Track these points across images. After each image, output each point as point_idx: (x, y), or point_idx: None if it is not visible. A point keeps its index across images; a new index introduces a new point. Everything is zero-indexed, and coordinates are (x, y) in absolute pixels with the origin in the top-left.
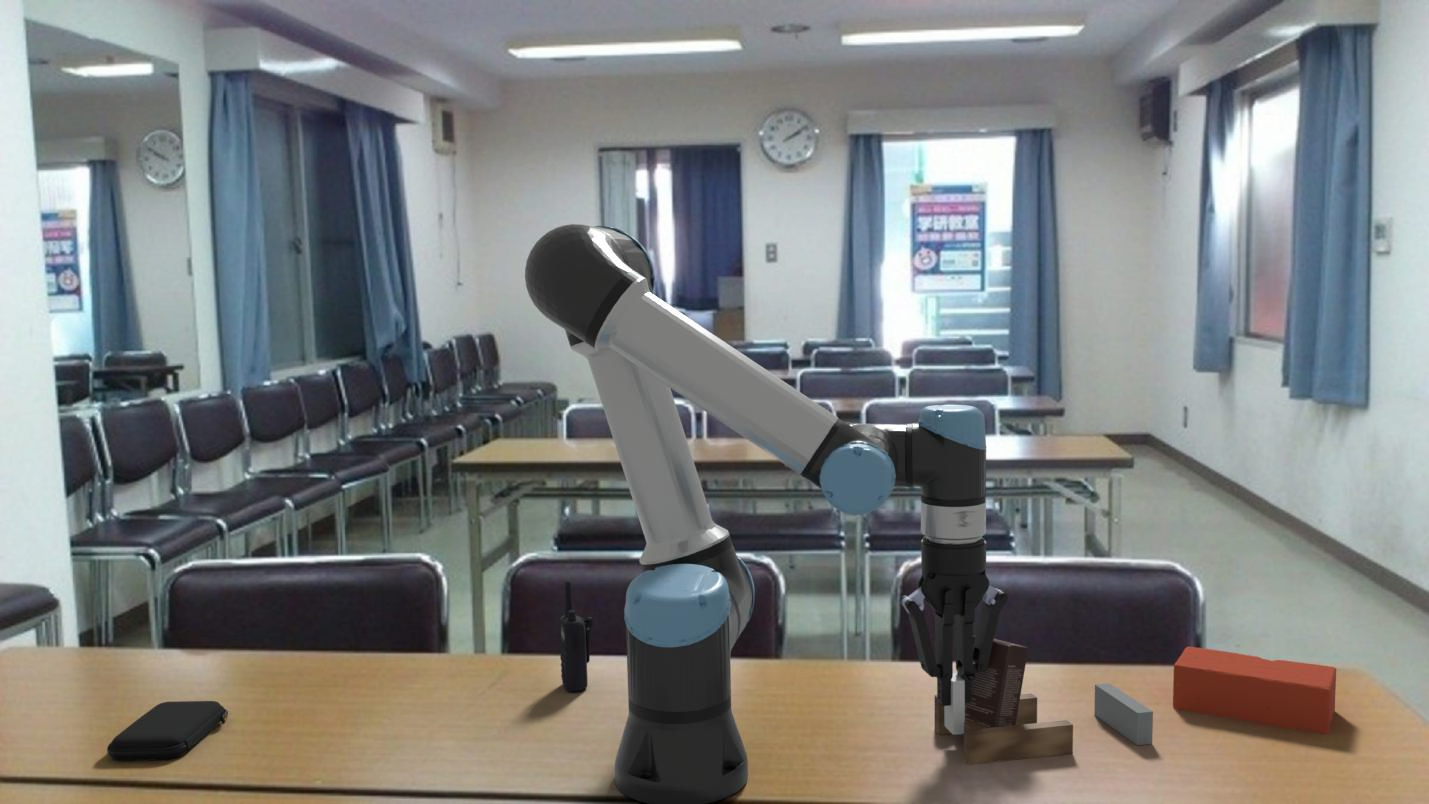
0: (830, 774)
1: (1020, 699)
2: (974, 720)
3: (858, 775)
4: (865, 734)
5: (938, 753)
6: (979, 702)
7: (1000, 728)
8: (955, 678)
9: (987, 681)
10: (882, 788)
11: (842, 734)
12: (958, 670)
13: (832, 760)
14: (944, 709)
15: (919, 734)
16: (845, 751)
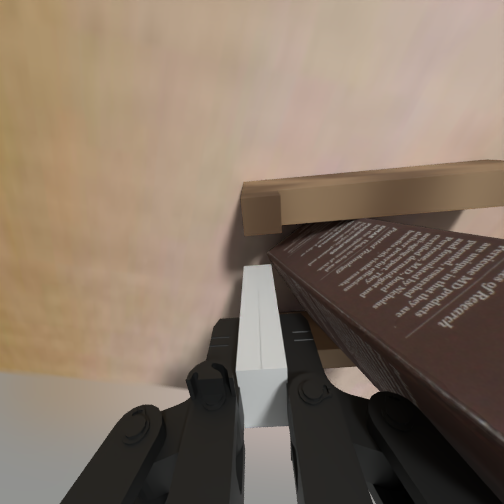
0: (36, 332)
1: (496, 205)
2: (304, 303)
3: (81, 339)
4: (84, 181)
5: (221, 288)
6: (330, 329)
7: (333, 356)
8: (264, 408)
9: (381, 383)
10: (118, 374)
11: (30, 173)
12: (289, 413)
13: (31, 289)
14: (242, 288)
15: (205, 200)
16: (49, 258)
